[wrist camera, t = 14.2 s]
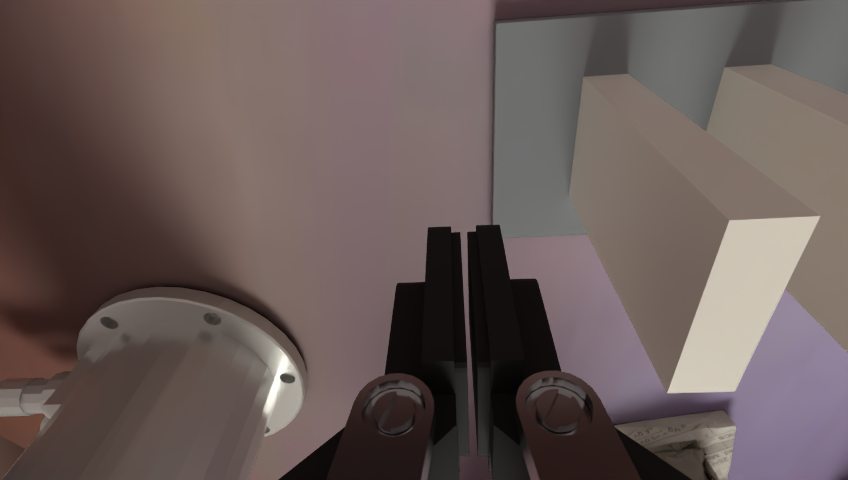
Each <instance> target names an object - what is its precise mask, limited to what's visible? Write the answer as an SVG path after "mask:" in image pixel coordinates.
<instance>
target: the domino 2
mask: <svg viewBox="0 0 848 480" xmlns="http://www.w3.org/2000/svg"><path fill="white" fill-rule="evenodd" d="M706 132H707V133H709V134H710V135H711V136H713V137H714V138H716V139H717V140H718V141H720V142H721V143H722V144H724V145H725V146H726V147H728V148H729V149H730V150H732V151H733V152H735V153H736V154H737V155H739V156H740V157H741V158H743V159H744V160H745V161H747V162H748V163H749V164H751V165H752V166H753V167H755V168H756V169H758V170H759V171H760V172H762V173H763V174H764V175H766V176H767V177H768V178H770V179H771V180H772V181H774V182H775V183H777V184H778V185H779V186H781V187H782V188H783V189H785V190H786V191H787V192H789V193H790V194H791V195H793V196H794V197H795V198H797V199H798V200H800V201H801V202H802V203H804V204H805V205H806V206H808V207H809V208H810V209H812V210H813V211H814V212H816V213H817V214H819V215H820V218H819V220H818V222H817V224H816V226H815V228H814V231H813V233H812V235H811V237H810V239H809V241H808V243H807V245H806V247H805V249H804V251H803V253H802V255H801V257H800V259H799V261H798V263H797V265H796V267H795V269H794V271H793V273H792V275H791V277H790V280H789V282H788V284H787V286H786V288H785V289H786V290H787V291H788V292H789V293H790V294H791V295H792V296H793V297H794V298H795V299H796V300H797V301H798V302H799V303H800V304H801V305H802V306H803V307H804V308H805V309H806V311H807V312H808V313H809V314H810V315H811V316H812V317H813V318H814V319H815V320H816V321H817V322H818V323H819V324H820V325H821V326H822V327H823V328H824V329H825V330H826V331H827V332H828V333H829V334H830V335H831V336H832V337H833V338H834V339H835V340H836V341H837V342H838V343H839V344H840V345H841V346H842V347H843V348H844V349H845V350H846V351H847V352H848V95H847V94H845V93H842V92H840V91H837V90H835V89H832V88H830V87H827V86H825V85H822V84H820V83H817V82H815V81H812V80H809V79H807V78H804V77H802V76H799V75H797V74H794V73H792V72H789V71H787V70H784V69H782V68H779V67H777V66H774V65H771V64H767V65H752V66H737V67H724V71H723V74H722V78H721V81H720V85H719V88H718V92H717V95H716V98H715V102H714V105H713V109H712V112H711V116H710V119H709V123H708V126H707V130H706Z"/></svg>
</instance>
